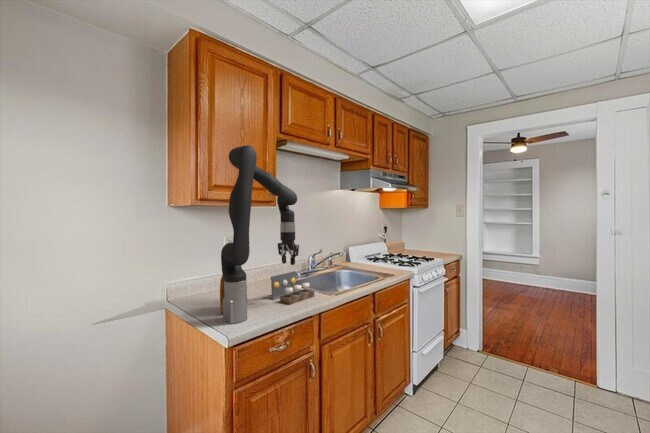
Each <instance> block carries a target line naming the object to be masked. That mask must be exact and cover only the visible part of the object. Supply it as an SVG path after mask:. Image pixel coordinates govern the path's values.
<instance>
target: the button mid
mask: <svg viewBox="0 0 650 433" xmlns="http://www.w3.org/2000/svg"><path fill="white" fill-rule="evenodd" d="M294 290H295V291H300V290H302V284H296V285H294Z"/></svg>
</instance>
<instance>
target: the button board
mask: <svg viewBox="0 0 650 433" xmlns="http://www.w3.org/2000/svg"><path fill="white" fill-rule="evenodd" d="M314 297H315V290H313V289H309V288H302V289H301V290H300V291H296V292H293V293H289V294H286V295H283V296H280V298H279V299H280V300H279V302H280V303H283V304H286V305H289V306H290V305H294V304H296V303H300V302H301V301H305V300H307V299H312V298H314Z"/></svg>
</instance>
